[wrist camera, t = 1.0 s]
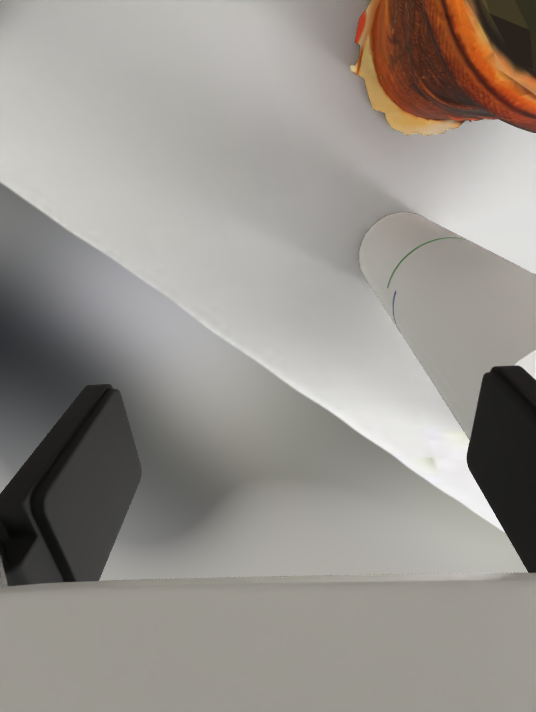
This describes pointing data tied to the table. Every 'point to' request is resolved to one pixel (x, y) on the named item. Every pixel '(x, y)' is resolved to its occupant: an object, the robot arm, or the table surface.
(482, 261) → the cylindrical container
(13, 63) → the table surface
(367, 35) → the vessel
